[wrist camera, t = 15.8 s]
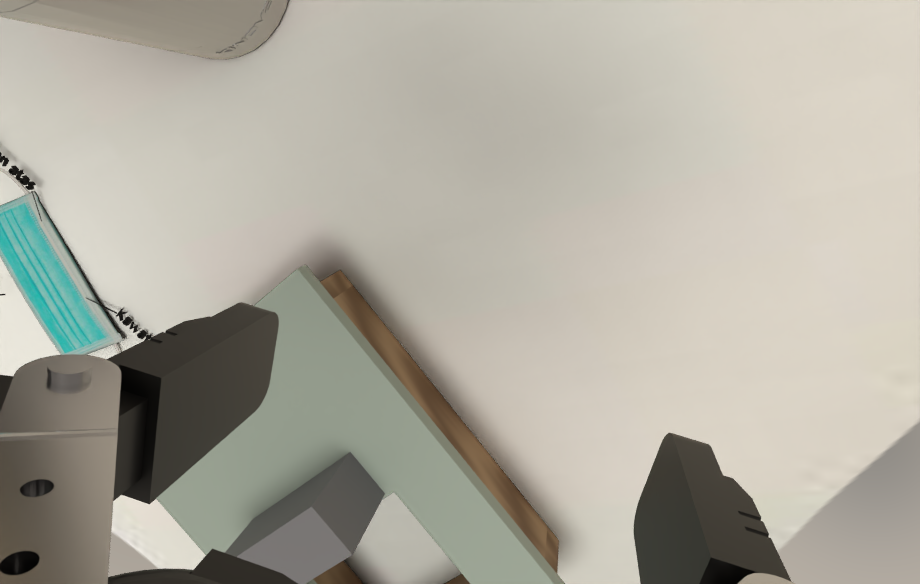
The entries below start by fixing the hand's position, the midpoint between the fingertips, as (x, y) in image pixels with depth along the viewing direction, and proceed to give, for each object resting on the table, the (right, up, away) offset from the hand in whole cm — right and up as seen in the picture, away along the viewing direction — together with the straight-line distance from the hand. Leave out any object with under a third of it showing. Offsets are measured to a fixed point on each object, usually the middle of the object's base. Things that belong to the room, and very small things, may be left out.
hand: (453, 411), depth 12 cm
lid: (-7, -10, +23) cm, 26 cm away
